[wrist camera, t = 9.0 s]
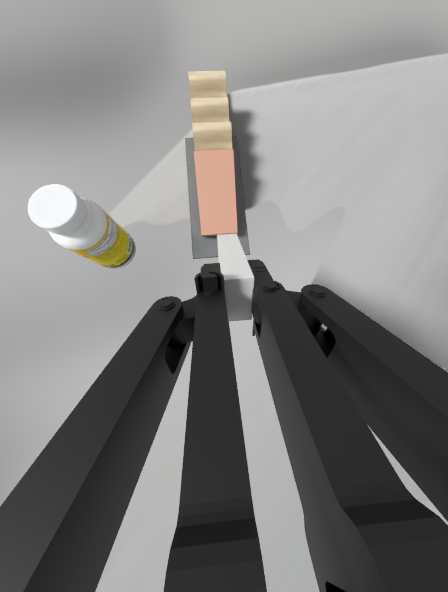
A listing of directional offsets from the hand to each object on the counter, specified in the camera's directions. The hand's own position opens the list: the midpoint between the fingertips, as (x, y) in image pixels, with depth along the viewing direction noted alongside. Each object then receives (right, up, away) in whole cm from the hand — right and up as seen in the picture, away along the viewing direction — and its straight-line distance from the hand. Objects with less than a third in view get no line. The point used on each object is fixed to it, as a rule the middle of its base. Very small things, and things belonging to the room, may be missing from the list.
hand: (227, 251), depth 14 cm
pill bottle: (-17, +3, +14) cm, 22 cm away
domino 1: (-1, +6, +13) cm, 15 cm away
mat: (-2, +13, +16) cm, 21 cm away
